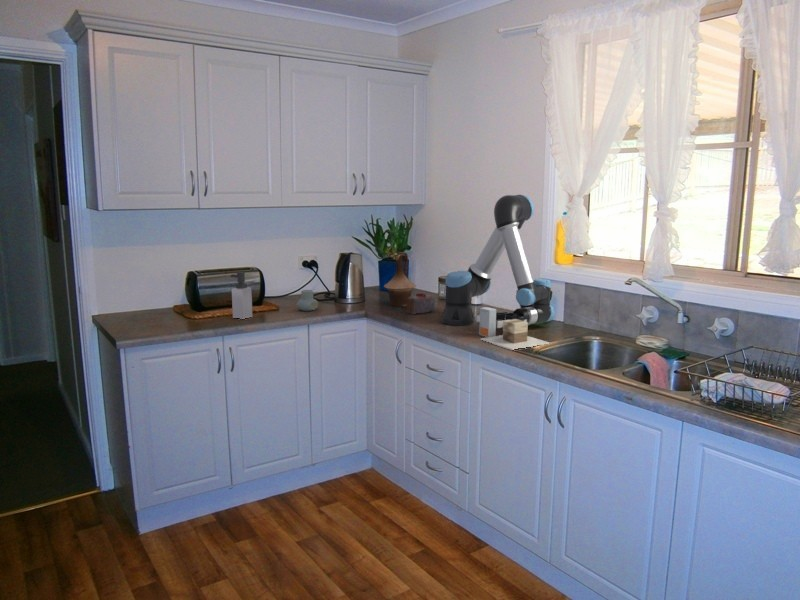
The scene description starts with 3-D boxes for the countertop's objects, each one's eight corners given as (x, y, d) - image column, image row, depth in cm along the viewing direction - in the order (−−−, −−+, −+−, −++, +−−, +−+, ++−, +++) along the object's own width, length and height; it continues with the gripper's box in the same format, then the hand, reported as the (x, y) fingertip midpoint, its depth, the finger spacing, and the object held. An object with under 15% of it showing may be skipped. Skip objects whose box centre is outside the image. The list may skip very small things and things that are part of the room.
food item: (425, 309, 328) (426, 290, 327) (436, 312, 322) (436, 292, 320) (405, 312, 320) (405, 293, 318) (415, 315, 314) (415, 295, 312)
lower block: (502, 339, 263) (502, 330, 263) (515, 337, 267) (515, 328, 266) (514, 343, 258) (514, 333, 257) (527, 341, 261) (527, 331, 260)
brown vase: (393, 300, 352) (393, 250, 346) (421, 303, 344) (422, 251, 339) (378, 306, 336) (378, 253, 331) (407, 309, 329) (407, 255, 323)
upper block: (502, 330, 263) (503, 320, 262) (515, 328, 266) (516, 319, 266) (514, 333, 257) (514, 324, 256) (527, 331, 260) (527, 322, 260)
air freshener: (307, 307, 332) (306, 288, 330) (320, 309, 328) (320, 289, 327) (294, 311, 323) (294, 291, 321) (307, 312, 319) (307, 293, 317)
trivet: (480, 339, 266) (480, 338, 266) (516, 334, 276) (516, 332, 276) (512, 350, 249) (512, 349, 249) (550, 344, 259) (550, 342, 259)
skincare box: (478, 335, 274) (479, 307, 272) (486, 333, 276) (487, 306, 274) (488, 338, 269) (489, 310, 267) (496, 336, 271) (496, 309, 269)
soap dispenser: (238, 315, 312) (236, 270, 308) (252, 317, 308) (250, 272, 304) (229, 318, 306) (227, 272, 302) (243, 319, 302) (241, 273, 298)
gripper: (544, 330, 272) (506, 336, 261) (505, 319, 293) (468, 324, 282) (545, 312, 270) (507, 318, 259) (506, 303, 291) (469, 308, 280)
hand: (487, 321), depth 270 cm, fingers open, 13 cm apart
